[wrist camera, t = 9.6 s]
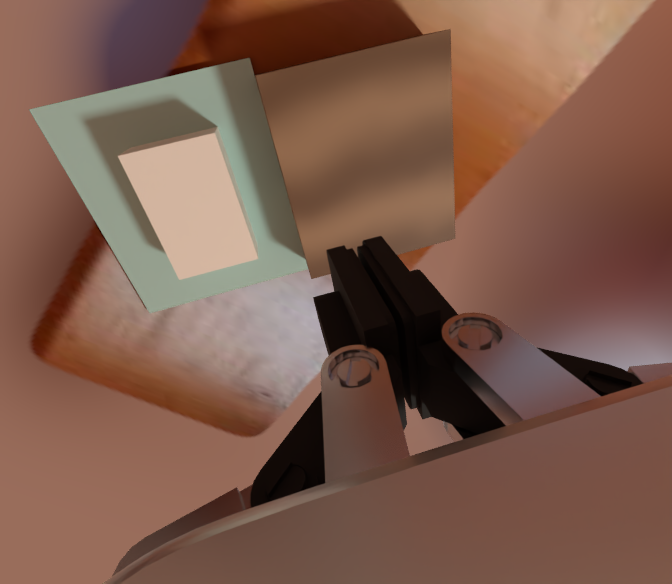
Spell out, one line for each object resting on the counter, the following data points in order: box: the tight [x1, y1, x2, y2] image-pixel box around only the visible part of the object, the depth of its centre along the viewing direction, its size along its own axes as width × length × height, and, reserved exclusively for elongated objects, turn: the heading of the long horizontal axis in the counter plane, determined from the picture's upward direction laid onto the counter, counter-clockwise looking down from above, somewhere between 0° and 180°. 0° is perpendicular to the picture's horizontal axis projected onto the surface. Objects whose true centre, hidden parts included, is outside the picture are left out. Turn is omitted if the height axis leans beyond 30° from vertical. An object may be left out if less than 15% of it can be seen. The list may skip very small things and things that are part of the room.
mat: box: [30, 58, 308, 313], centre depth 28 cm, size 16×14×1 cm
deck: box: [255, 29, 455, 279], centre depth 27 cm, size 14×12×4 cm
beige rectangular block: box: [118, 127, 258, 280], centre depth 26 cm, size 9×6×3 cm, turn 11°
